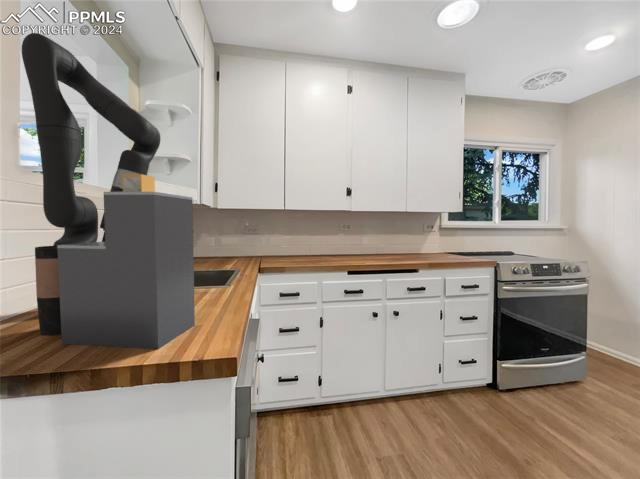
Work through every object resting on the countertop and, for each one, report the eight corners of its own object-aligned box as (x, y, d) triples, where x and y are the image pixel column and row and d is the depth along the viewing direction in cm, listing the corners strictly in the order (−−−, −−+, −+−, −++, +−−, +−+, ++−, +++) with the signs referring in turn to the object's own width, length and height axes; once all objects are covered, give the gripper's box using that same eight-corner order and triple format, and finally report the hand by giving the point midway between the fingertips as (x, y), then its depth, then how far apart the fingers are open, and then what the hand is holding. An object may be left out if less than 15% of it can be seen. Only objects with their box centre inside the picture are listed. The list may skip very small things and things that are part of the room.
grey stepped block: (61, 343, 62) (54, 192, 60) (114, 321, 76) (110, 197, 74) (158, 349, 60) (154, 191, 58) (194, 325, 74) (192, 197, 72)
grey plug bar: (122, 192, 60) (122, 174, 60) (184, 200, 82) (183, 187, 81) (141, 192, 59) (141, 174, 59) (198, 200, 81) (198, 187, 81)
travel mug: (45, 338, 65) (40, 248, 64) (33, 331, 69) (29, 246, 68) (86, 328, 71) (83, 246, 70) (74, 322, 75) (70, 244, 74)
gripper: (124, 190, 88) (111, 243, 87) (99, 180, 74) (83, 243, 73) (151, 196, 89) (138, 248, 88) (132, 187, 75) (116, 249, 74)
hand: (113, 246), depth 80 cm, fingers open, 8 cm apart
